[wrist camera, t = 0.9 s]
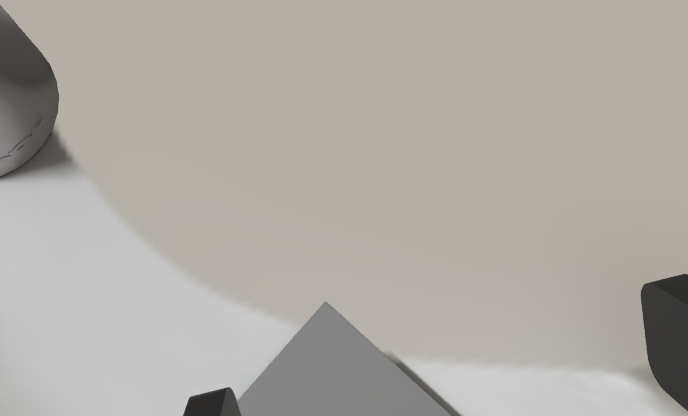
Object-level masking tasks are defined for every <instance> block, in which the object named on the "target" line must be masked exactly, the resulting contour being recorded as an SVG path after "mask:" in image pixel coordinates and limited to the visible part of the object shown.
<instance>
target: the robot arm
mask: <svg viewBox="0 0 688 416" xmlns="http://www.w3.org/2000/svg"><path fill="white" fill-rule="evenodd" d="M58 102H59V94H58V88H57V82H56V78H55V76H54V73H53V71H52V69H51V66H50V64H49V63H48V62H47V60H46V59H45V57H44V56H43V55H42V53H41V52H40V51H39V50H38V48H37V47H36V46H35V45H34V44H33V43H32V42H31V40H30V39H29V38H28V37H27V36H26V35H25V33H24V32H23V31H22V30H21V29H20V28H19V27H18V25H17V24H16V23H15V22H14V20H13V19H12V18H11V17H10V16H9V15H8V13H7V12H6V11H5V10H4V9H3V8H2V6H1V5H0V176H2V175H4V174H6V173H8V172H10V171H13V170H15V169H17V168H18V167H19V166H21V165H22V164H24V163H25V162H26V161H28V160H29V159H30V158H32V157H33V155H34V154H35V153H36V152H37V151H38V150H39V149H40V148H41V147H42V145H43V144H44V143H45V141H46V139H47V138H48V136H49V134H50V132H51V131H52V129H53V126H54V123H55V119H56V116H57V113H58ZM641 303H642V311H643V320H644V329H645V337H646V345H647V354H648V361H649V364H650V367H651V370H652V372H653V375H654V377H655V378H656V380H657V382H658V383H659V385H660V386H661V387H662V389H663V390H664V391H665V392H666V393H668V394H669V395H670V396H671V397H672V398H673V399H674V400H676V401H677V402H678V403H679V404H680V405H681V406H682V407H684V408H685V409H686V410H687V411H688V275H687V274H682V275H678V276H674V277H670V278H666V279H662V280H658V281H654V282H650V283H647V284H645V285H644V286H643V287H642V290H641ZM183 416H241V413H240V410H239V407H238V404H237V400H236V397H235V395H234V393H233V391H232V389H231V388H230V387H227V388H223V389H219V390H215V391H211V392H207V393H203V394H199V395H195V396H192V397H190V398H189V400H188V403H187V406H186V409H185V412H184V415H183Z"/></svg>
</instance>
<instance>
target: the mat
mask: <svg viewBox="0 0 688 416" xmlns="http://www.w3.org/2000/svg"><path fill="white" fill-rule="evenodd" d="M237 404H238V407H239V410H240V413H241V416H451V415H450V414H449V413H448V412H447V411H446V410H445V409H444V408H443V407H441V406H440V405H439V404H438V403H437V402H436V401H435V400H434V399H433V398H432V397H430V396H429V395H428V394H427V393H426V392H425V391H424V390H423V389H422V388H421V387H419V386H418V385H417V384H416V383H415V382H414V381H413V380H412V379H411V378H410V377H408V376H407V375H406V374H405V373H404V372H403V371H402V370H401V369H400V368H399V367H397V366H396V365H395V364H394V363H393V362H392V361H391V360H390V359H389V358H388V357H387V356H385V355H384V354H383V353H382V352H381V351H380V350H379V349H378V348H377V347H376V346H374V345H373V344H372V343H371V342H370V341H369V340H368V339H367V338H366V337H365V336H363V335H362V334H361V333H360V332H359V331H358V330H357V329H356V328H355V327H354V326H352V325H351V324H350V323H349V322H348V321H347V320H346V319H345V318H344V317H343V316H342V315H340V314H339V313H338V312H337V311H336V310H335V309H334V308H333V307H332V306H331V305H329V304H328V303H327V302H324V303H323V305H322V306H321V307H320V308H319V309H318V310H317V311H316V313H315V314H314V315H313V316H312V317H311V318H310V320H309V321H308V322H307V323H306V324H305V325H304V326H303V327H302V328H301V330H300V331H299V332H298V333H297V334H296V335H295V336H294V338H293V339H292V340H291V341H290V342H289V343H288V344H287V346H286V347H285V348H284V349H283V350H282V351H281V352H280V353H279V355H278V356H277V357H276V358H275V359H274V360H273V361H272V363H271V364H270V365H269V366H268V367H267V368H266V369H265V370H264V372H263V373H262V374H261V375H260V376H259V377H258V378H257V380H256V381H255V382H254V383H253V384H252V385H251V386H250V388H249V389H248V390H247V391H246V392H245V393H244V394H243V395H242V397H241V398H240V399H239V400H238V401H237Z"/></svg>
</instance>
